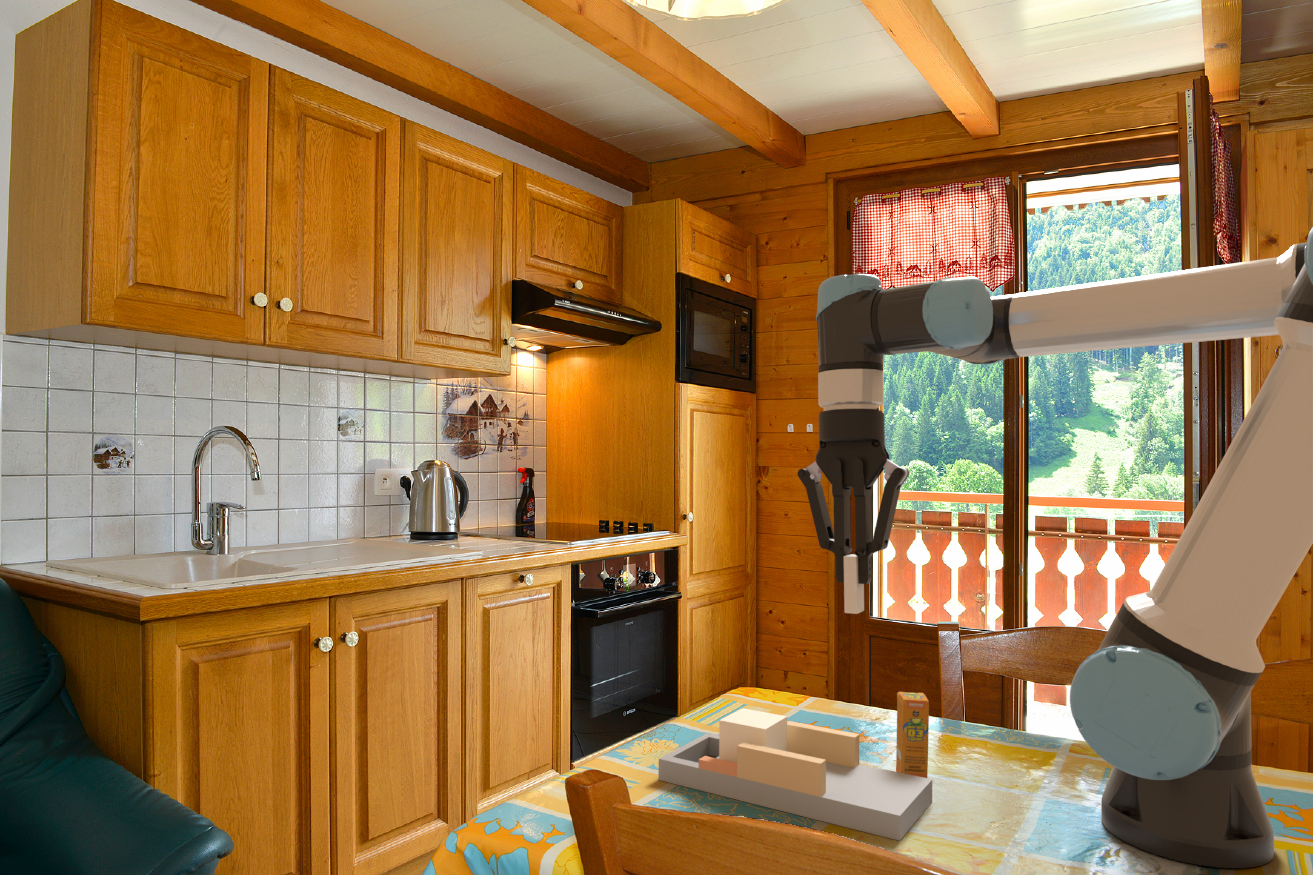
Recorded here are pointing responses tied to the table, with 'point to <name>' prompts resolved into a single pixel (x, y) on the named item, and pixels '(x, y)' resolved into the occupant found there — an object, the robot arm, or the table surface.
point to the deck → (805, 780)
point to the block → (751, 732)
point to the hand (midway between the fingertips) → (854, 611)
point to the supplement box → (912, 734)
